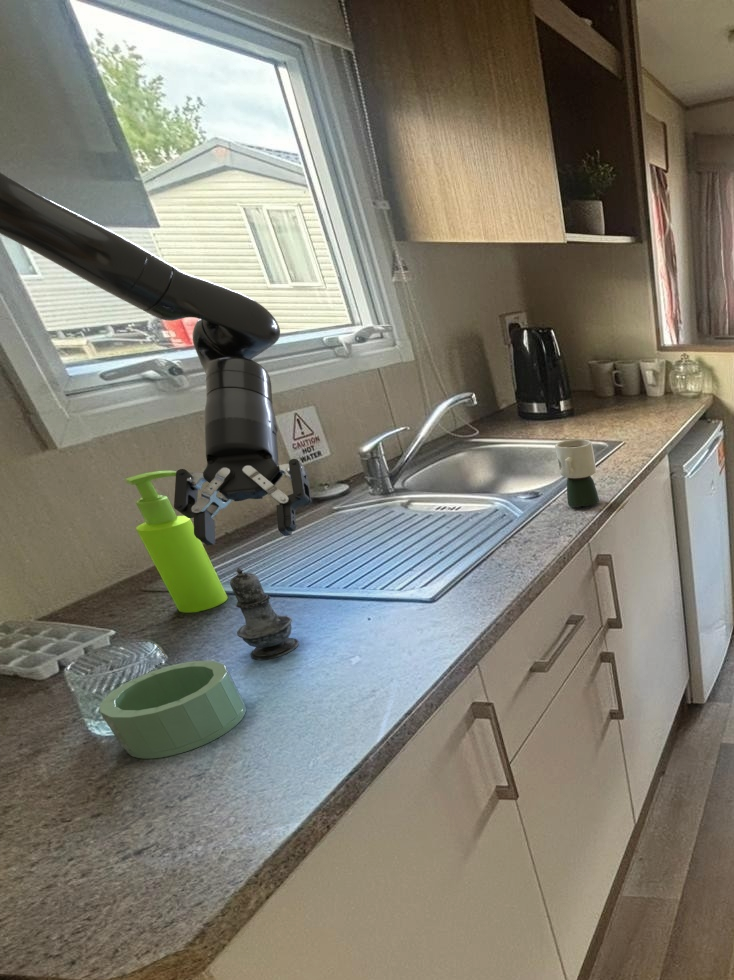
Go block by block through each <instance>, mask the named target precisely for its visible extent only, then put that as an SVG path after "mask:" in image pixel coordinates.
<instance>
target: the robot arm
mask: <svg viewBox="0 0 734 980" xmlns="http://www.w3.org/2000/svg"><path fill="white" fill-rule="evenodd" d="M0 235H2V236H4V237H6V238H8V239H10V240H12V241H14V242H16V243H18V244H19V245H21V246H23V247H25V248H27V249H29V250H31V252H32V251H33V252H35V253H36V254H38V255H40V256H42V257H43V258H46V259H47V260H49V261H51V262H53V264H56V265H57V266H59V267H61V268H63V269H65V270H67V271H69V272H70V273H73V274H74V275H75V276H78V277H79V278H81V279H83V280H85V281H86V282H89V283H90V284H92V285H94V286H96V287H98V289H99V288H100V289H102V290H103V291H105V292H107V293H108V294H111V295H112V296H114V297H116V298H118V299H120V300H122V301H124V302H126V303H128V304H130V305H131V306H134V307H135V308H138V309H140V310H141V311H143V312H145V313H147V314H149V315H151V316H153V317H155V318H157V319H160V320H163V321H169V322H172V321H177V320H181V319H186V318H194V319H198V320H197V321H196V323H194V326H193V330H192V344H193V347H194V350H195V352H196V354H197V357H198V360H199V362H200V365H201V368H202V369H203V371H204V373H205V386H206V387H205V392H206V393H205V394H206V395H205V396H206V401H205V407H204V436H205V437H204V438H205V458H206V466H205V468H204V470H203V471H193V472H192V471H191V472H189V471H188V470H187V469H185V468H180V469H177V470H176V476H175V483H174V499H173V509H174V510H176V511H177V512H179V514H181V515H182V516H186V517H187V518H190V519H193V525H194V535H195V536H196V538H198V539H199V540H201V542H202V544H204V545H206V546H214V545H216V525H215V519H214V517H215V516H216V515H217V514H219V512H220V510H222V509H223V510H224V509H226V508H227V507H228V505H230V503H231V502H232V501H234V502H243V501H246V500H262V499H263V498H264V497H266V496H267V495H269V496H270V497H271V498H272V499H273V500H275V501H276V502H277V503H278V504H276V517H277V519H276V520H277V529H278V532H279V533H280V534H281V535H283V536H284V537H291V536H292V534H293V532H295V531H296V529H297V519H296V510H297V509H298V508H299V507H301V506H310V505H311V504H312V502H313V501H312V495H311V487H310V481H309V475H308V470H307V468H306V467H305V466H304V464H303V463H302V462H300V461H299V460H298V459H297V458H292V459H290V460H289V461H288V463H281V464H279V447H278V425H277V420H276V415H275V412H274V405H273V392H272V389H273V388H272V381H271V378H270V374H269V373H268V370H266V368H265V367H264V366H263V365H261V364H260V363H259V362H257V361H255V360H253V359H254V358H256V357H257V356H259V355H260V354H262V353H263V352H265V351H266V350H269V348H271V347H272V346H274V345H275V344H276V343H277V342H278V341H279V340H280V337H281V329H280V325H279V323H278V321H277V320H276V318H275V317H274V315H272V313H271V312H270V311H269V310H268V309H267V308H265V306H263V305H262V304H261V303H259V302H257V301H256V300H255V299H252V298H251V297H249V296H247V295H245V294H243V293H241V292H238V291H235V290H232V289H230V288H227V287H225V286H223V285H219V284H217V283H214V282H211V281H209V280H206V279H204V278H200V277H198V276H195V275H192V274H189V273H186V272H185V271H182V270H180V269H179V268H177V267H175V266H174V265H171V264H170V263H168V262H167V261H166V260H163V259H162V258H160V257H158V256H157V255H155V254H153V253H151V252H150V251H148V250H146V249H145V248H143V247H141V246H140V245H138V244H137V243H134V242H133V241H130V240H129V239H126V238H125V237H123V236H121V235H119V234H118V233H116V232H114V231H112V230H110V229H108V228H106V227H104V226H102V225H100V224H98V223H96V222H95V221H92V220H90V219H88V218H86V217H84V216H82V215H80V214H78V213H76V212H74V211H72V210H70V209H68V208H66V207H64V206H62V205H60V204H58V203H56V202H54V201H52V200H51V199H48V198H46V197H44V196H42V195H41V194H39V193H37V192H35V191H34V190H32V189H30V188H28V187H26V186H24V185H23V184H21V183H19V182H17V181H16V180H14V179H12V178H11V177H9V176H7V175H6V174H5V173H2V172H1V171H0ZM283 475H286V477H287V478H288V479H290V480H291V489H292V493H290V494H287V495H286V493H284V492H283V491H282V490H280V489H279V488H278V487H277V486H276V485H277V483H278V482H279V481H280V480H281V478H283ZM206 482H207V483H208V484H207V485H206V486H205V488H203V487H202V486H203V484H204V483H206ZM202 488H203V490H202ZM201 490H202V491H201ZM199 491H201V493H200V497H199V499H198V494H199ZM218 493H220V495H219V496H218Z"/></svg>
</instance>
